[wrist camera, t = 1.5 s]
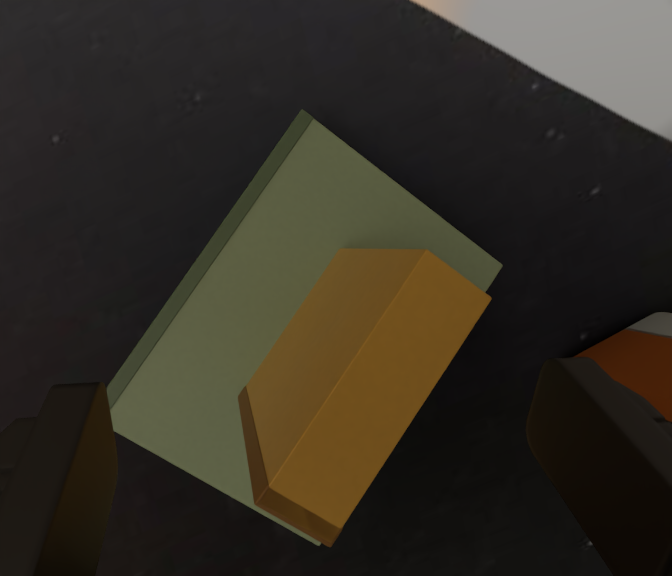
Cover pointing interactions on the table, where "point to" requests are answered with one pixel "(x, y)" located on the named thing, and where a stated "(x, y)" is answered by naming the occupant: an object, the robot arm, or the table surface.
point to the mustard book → (350, 380)
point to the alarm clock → (641, 359)
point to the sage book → (264, 297)
